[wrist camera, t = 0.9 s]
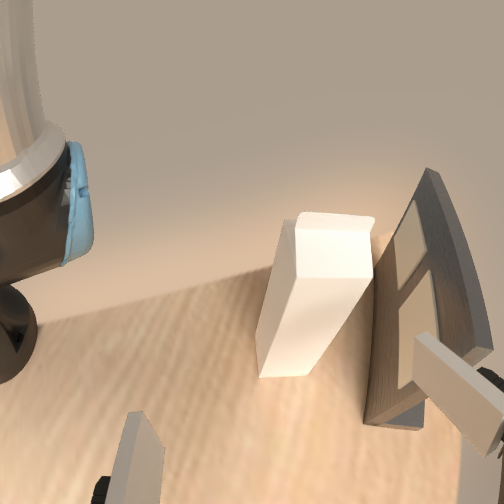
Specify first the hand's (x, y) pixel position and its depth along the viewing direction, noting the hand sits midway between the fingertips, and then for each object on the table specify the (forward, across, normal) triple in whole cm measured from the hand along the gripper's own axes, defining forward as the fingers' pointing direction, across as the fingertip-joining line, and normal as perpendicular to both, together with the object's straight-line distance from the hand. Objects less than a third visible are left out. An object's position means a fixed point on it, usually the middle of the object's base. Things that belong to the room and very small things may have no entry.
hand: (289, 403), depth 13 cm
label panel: (+22, +18, -16) cm, 33 cm away
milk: (+22, +2, -12) cm, 25 cm away
